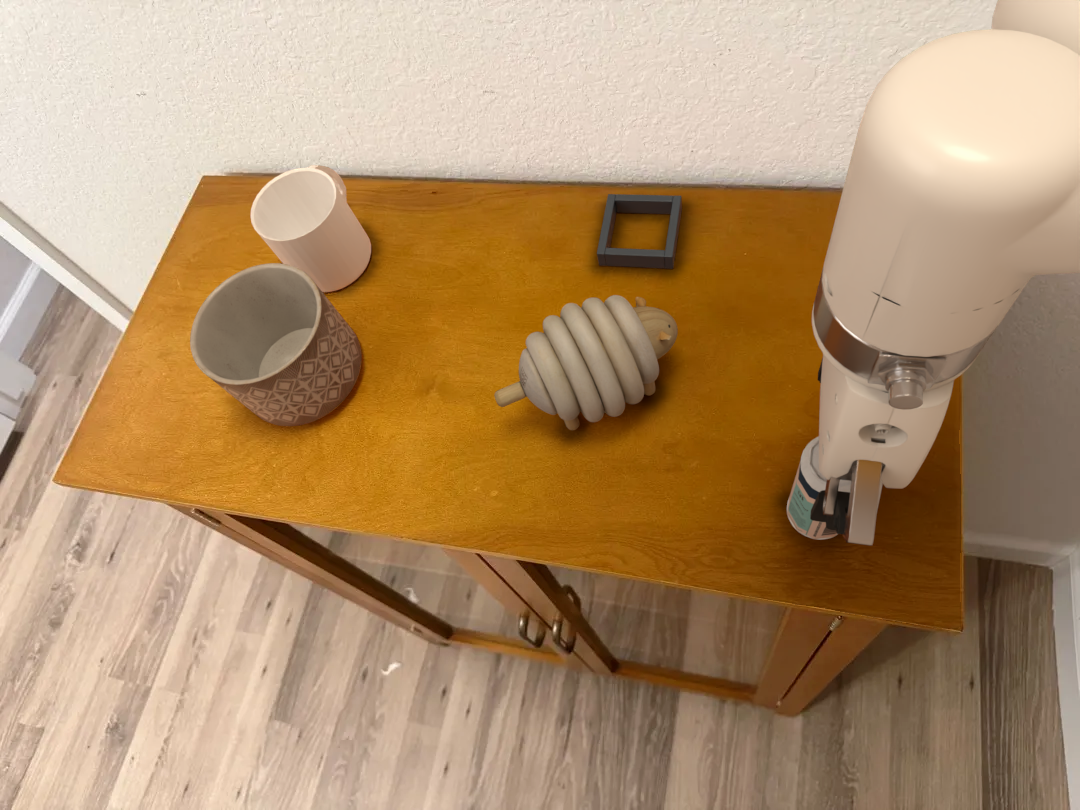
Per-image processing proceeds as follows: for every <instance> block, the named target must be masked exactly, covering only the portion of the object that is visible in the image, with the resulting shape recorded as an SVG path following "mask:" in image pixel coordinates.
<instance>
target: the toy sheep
mask: <svg viewBox="0 0 1080 810" xmlns="http://www.w3.org/2000/svg"><path fill="white" fill-rule="evenodd" d="M559 315H560V317H559V316H558V315H555V314H552V315H551V314H550V315H548V316H545V318H544V319H543V321H542V330H543V331H534V332H531V333H530V334H529V335H528V336H527V337H526V339H525V346H526V348H524V349H523V350H522V351H521V354H520V356H519V357H520V358H519V362H518V378H519V381H517V382H514V383H511V384H509V385H507V386H505V387H502V388H500V389H498V390H497V391H495V392H494V399H495V401H496V404H497V405H498V407H501V408H505V407H507V406H509V405H512V404H513V403H516V402H518V401H521V400H523V399H526V398H527V399H528V400H529V401H530V402H531V403H532V404H533V405H534V406H535V407H536V408H538V409H539V410H540V411H542V412H544V413H547V414H549V415H551V416H556V415H557V414H558V416H559V418H560V419H561V420H563V421H564V425H565V427H566V428H567V429H568V430H569V431H576V430H577V429H578V428H579V427H580V420H579V417H578V416H579V415H580V413H581V414H582V416H583V417H584V418H585V420H587V421H588V422H590V423H597V422H599V421H601V420H602V419H603V417H604V416H605V415H604V414H606V415H607V416H609V417H611V418H612V417H614V418H616V417H620V416H621V415H622V414H623V413H624V412H625V409H626V404H628V405H636V404H639V403H640V402H641V401H642V400H643V399H644V397H645V396H652V395H653V394H655V392H656V382H655V381H656V380H657V379H658V377H659V375H660V365H659V361H658V360H659V359H661V358H662V357H663V356H665V355H666V354H667V353H668V352H669V351H670V350H671V349H672V348H673V346H674V345H675V343H676V341H677V339H678V331H679V329H678V324H677V322H676V319H674V317H673V315H671V314H670V313H668V312H667V311H665V310H664V309H661V308H658V307H653V306H647V299H645V298H644V297H641V296H636V297H635V306H632V304H631V303H630V302H629V301H628V299H626V298H625V297H624V296H622V295H619V294H613V295H610V296H608V297H607V298H606V299H605V301H604V302H603V301H602V299H600V298H599V297H588V298H586V299H585V300H584V301H583V302H582V304H581V306H579V304H577V303H574V302H568V303H566V304H564V305H563V307H562V308H561V310H560V313H559ZM644 395H645V396H644Z"/></svg>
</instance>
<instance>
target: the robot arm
mask: <svg viewBox="0 0 1080 810" xmlns="http://www.w3.org/2000/svg"><path fill="white" fill-rule="evenodd" d="M857 129H858V130H857V133H856V138H855V141H854V144H853V149H852V153H851V156H850V161H849V164H848V169H847V171H846V176H845V181H844V184H843V187H842V191H841V195H840V199H839V205H838V207H837V212H836V214H835V220H834V223H833V226H832V227H833V228H832V230H831V234H830V239H829V242H828V246H827V250H826V255H825V258H824V262H823V267H822V270H821V273H820V278H819V282H818V285H817V289H816V292H815V293H816V294H815V297H814V302H813V304H812V305H813V306H812V310H811V326H812V327H811V328H812V332H813V336H814V339H815V342H816V343H817V346H818V348H819V349H820V351H821V353H822V358H821V362H820V365H819V368H818V372H817V381H818V382H819V383H820V387H819V412H818V413H819V414H818V416H819V417H818V436H819V471H820V472H821V474H822V475H823V476H824V477H825V478H826V479H827V482H826V488H825V490H822V491H820V492H819V493H818V496H817V498H816V500H815V502H814V505H813V507H812V509H811V515H810V519H811V520H813V521H819V522H826V528H827V529H830V530H835V531H836V533H837V534H838V535H842V538H843V540H844V541H845V542H846V544H854V545H861V546H869V547H872V546H873V544H874V540H875V533H876V524H877V523H876V522H877V516H878V515H877V514H878V509H879V505H880V499H881V495H882V490H883V486H884V487H885V488H886V489H904V488H906V487H907V486H909V484H910V483H911V482H912V481H913V480H914V478H915V477H916V476H917V474H918V472H919V470H920V469H921V467H922V465H923V463H924V462H925V460H926V459H927V456H928V455H929V452H930V451H931V449H932V447H933V445H934V444H935V441H936V439H937V437H938V434H939V432H940V430H941V427H942V424H943V422H944V420H945V416H946V414H947V411H948V408H949V405H950V401H951V397H952V393H953V388H954V383H955V380H956V379H957V378H959V377H960V376H962V375H963V374H964V373H965V372H966V371H967V370H968V369H969V368H970V367H971V366H972V365H973V363H974V362H975V361H976V359H977V358H978V356H979V355H980V353H981V351H982V350H983V349H984V347H985V345H986V344H987V343H988V341H989V340H990V338H991V337H992V335H993V334H994V332H996V329H997V328H998V327H999V325H1000V324H1001V323H1002V321H1003V320H1004V319H1005V317H1006V315H1007V314H1008V312H1009V311H1010V310H1011V308H1012V307H1013V305H1014V304H1015V302H1016V300H1017V299H1018V298H1019V296H1020V295H1021V293H1022V292H1023V290H1024V289H1025V287H1026V286H1027V284H1028V283H1029V281H1030V280H1031V278H1033V277H1035V276H1042V275H1067V274H1068V275H1069V274H1080V0H997V1H996V4H995V7H994V11H993V14H992V18H991V28H987V29H973V30H972V29H971V30H967V31H960V32H955V33H951V34H949V35H948V34H947V35H945V36H942V37H939V38H936V39H934V40H931V41H929V42H927V43H924V44H923V45H920V46H919V47H918V48H916V49H914V50H912V51H911V52H910V53H908V54H906V55H905V56H904V57H902V58H900V60H898V61H897V62H896V63H895V64H894V65H893V66H892V67H891V68H890V69H888V71H886V73H885V74H884V75H883V77H881V79H880V81H879V82H878V83H877V84H876V86H875V87H874V89H873V91H872V93H871V94H870V97H869V99H868V101H867V102H866V105H865V108H864V110H863V114H862V117H861V120H860V123H859V126H858V128H857ZM840 479H841V480H849V481H851V488H850V492H842V491H838V488H839V482H840Z"/></svg>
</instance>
